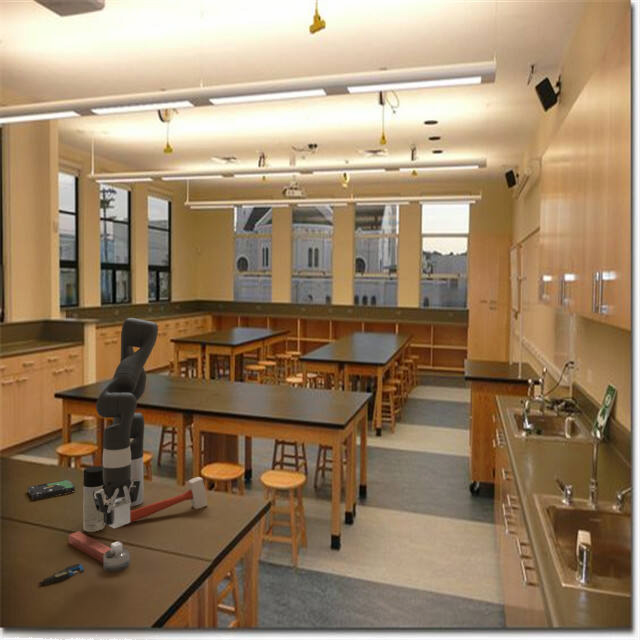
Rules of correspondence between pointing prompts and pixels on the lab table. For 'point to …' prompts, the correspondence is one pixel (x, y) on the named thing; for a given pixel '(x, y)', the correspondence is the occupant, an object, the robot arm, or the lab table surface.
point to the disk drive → (50, 489)
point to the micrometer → (62, 574)
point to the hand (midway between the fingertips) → (117, 521)
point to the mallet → (175, 500)
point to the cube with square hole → (120, 513)
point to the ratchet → (102, 551)
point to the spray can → (92, 499)
